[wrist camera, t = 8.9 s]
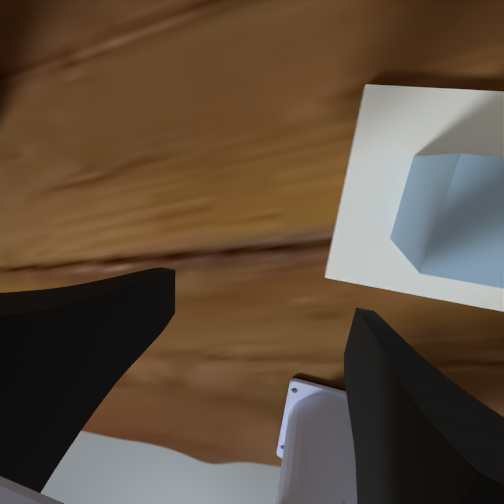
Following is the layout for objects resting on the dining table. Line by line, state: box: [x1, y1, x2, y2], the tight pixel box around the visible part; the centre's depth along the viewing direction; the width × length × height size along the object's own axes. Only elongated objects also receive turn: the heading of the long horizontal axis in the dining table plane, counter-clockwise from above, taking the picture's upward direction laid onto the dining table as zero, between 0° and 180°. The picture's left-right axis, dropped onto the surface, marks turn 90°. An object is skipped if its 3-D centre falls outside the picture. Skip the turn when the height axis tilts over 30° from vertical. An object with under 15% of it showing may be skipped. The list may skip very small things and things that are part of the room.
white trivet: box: [325, 84, 504, 312], centre depth 17 cm, size 12×12×1 cm
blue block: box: [390, 153, 504, 289], centre depth 13 cm, size 5×5×6 cm
